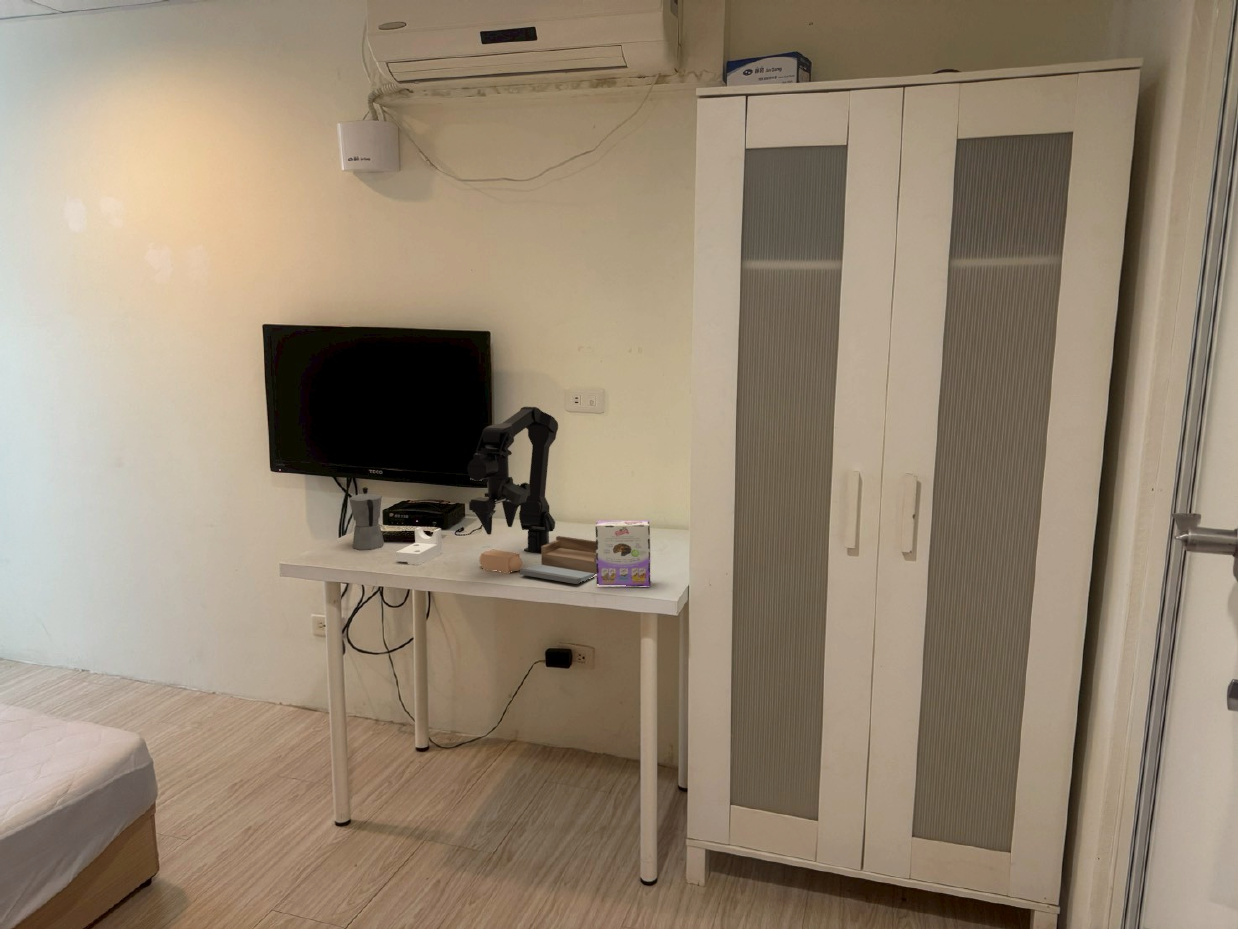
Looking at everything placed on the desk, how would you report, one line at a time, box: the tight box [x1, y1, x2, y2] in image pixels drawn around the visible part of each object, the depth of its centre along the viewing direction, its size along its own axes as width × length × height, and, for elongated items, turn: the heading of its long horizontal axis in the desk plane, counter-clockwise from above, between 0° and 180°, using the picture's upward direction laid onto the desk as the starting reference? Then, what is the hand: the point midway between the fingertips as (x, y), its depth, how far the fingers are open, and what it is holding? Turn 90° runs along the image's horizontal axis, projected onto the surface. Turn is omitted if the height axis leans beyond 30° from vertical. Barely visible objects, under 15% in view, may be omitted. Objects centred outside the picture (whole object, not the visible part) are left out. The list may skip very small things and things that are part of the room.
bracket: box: [395, 526, 443, 566], centre depth 250 cm, size 13×7×8 cm, turn 162°
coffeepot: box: [349, 486, 385, 551], centre depth 261 cm, size 15×9×18 cm, turn 26°
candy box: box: [594, 519, 651, 587], centre depth 224 cm, size 14×6×16 cm, turn 88°
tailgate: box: [519, 564, 595, 585], centre depth 231 cm, size 1×18×9 cm
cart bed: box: [540, 535, 596, 574], centre depth 239 cm, size 8×18×7 cm, turn 61°
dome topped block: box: [478, 549, 523, 574], centre depth 239 cm, size 5×13×4 cm, turn 61°
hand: (499, 530), depth 237 cm, fingers open, 9 cm apart
